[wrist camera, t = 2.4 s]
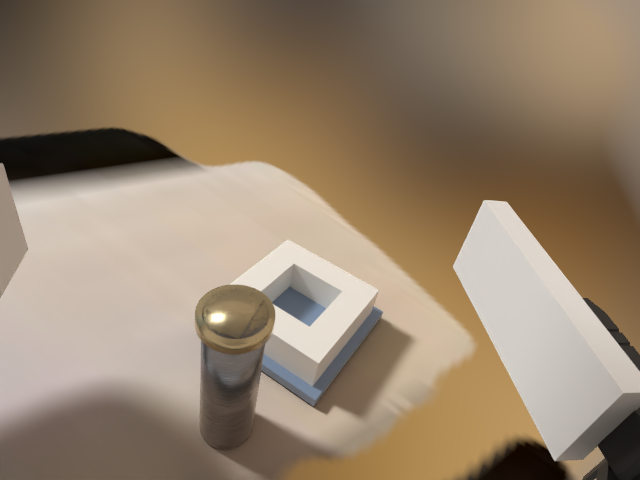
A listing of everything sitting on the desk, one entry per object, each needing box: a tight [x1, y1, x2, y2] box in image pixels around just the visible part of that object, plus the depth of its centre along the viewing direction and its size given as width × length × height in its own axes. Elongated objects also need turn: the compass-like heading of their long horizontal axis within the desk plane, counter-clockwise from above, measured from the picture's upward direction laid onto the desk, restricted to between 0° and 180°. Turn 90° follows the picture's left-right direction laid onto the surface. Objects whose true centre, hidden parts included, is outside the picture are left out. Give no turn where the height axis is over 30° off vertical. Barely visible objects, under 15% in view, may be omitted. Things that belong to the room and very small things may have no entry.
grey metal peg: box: [195, 285, 276, 449], centre depth 34 cm, size 5×5×14 cm
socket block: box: [230, 240, 383, 407], centre depth 47 cm, size 14×14×4 cm
